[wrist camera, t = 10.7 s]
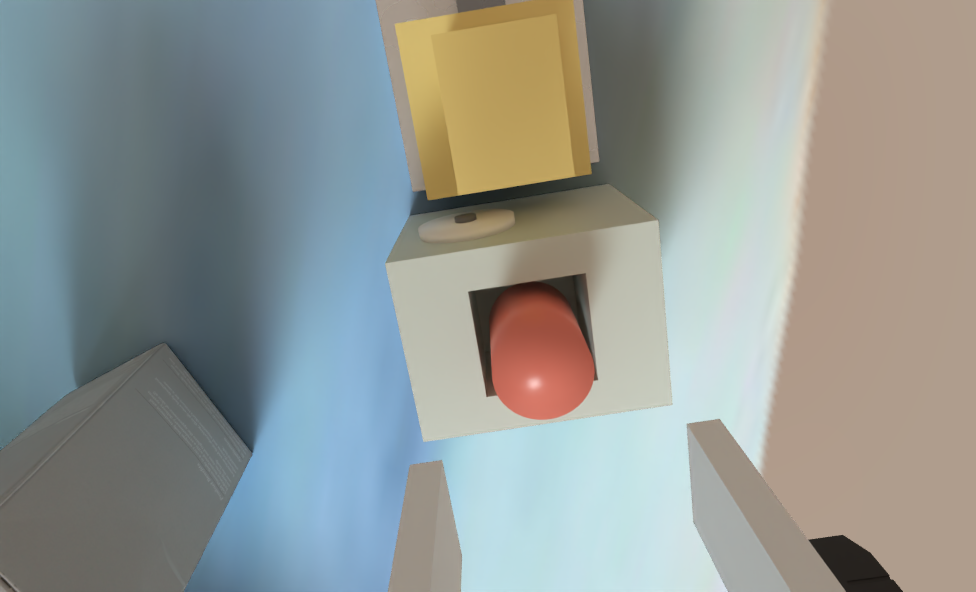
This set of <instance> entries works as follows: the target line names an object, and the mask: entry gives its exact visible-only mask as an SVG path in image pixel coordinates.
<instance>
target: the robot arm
mask: <svg viewBox="0 0 976 592" xmlns="http://www.w3.org/2000/svg"><path fill="white" fill-rule="evenodd" d="M687 436H688V450H689V465H690V479H691V494H692V508H693V522H694V524H695V527H696V529H697V531H698V533H699V535H700V537H701V539H702V541H703V543H704V545H705V547H706V549H707V551H708V553H709V555H710V557H711V559H712V561H713V563H714V565H715V567H716V569H717V571H718V573H719V575H720V577H721V579H722V581H723V583H724V585H725V587H726V589H727V591H728V592H903V591H902V590H901V589H900V587H899V586H898V585H897V584H896V583H895V581H894V580H891V579H890V577H889V574H888V573H887V572H886V571H885V570H884V568H883V567H882V566H881V565H880V564H879V562H878V561H877V560H876V559H875V558H874V557H873V555H872V554H871V553H870V552H868V551H867V550H865V549H863V548H862V547H861V546H859V545H858V544H856V543H854V542H853V541H851V540H850V539H848V538H847V537H845V536H843V535H839V536H832V537H825V538H818V539H811V540H808V539H807V538H806V536H805V535H804V534H803V532H802V531H801V530H800V528H799V527H798V526H797V524H796V523H795V521H794V520H793V519H792V517H791V516H790V514H789V513H788V512H787V510H786V509H785V508H784V506H783V505H782V503H781V502H780V501H779V499H778V498H777V497H776V495H775V494H774V493H773V491H772V490H771V488H770V487H769V486H768V484H767V483H766V482H765V480H764V479H763V477H762V476H761V475H760V473H759V472H758V471H757V469H756V468H755V467H754V465H753V464H752V462H751V461H750V460H749V458H748V457H747V456H746V454H745V453H744V452H743V450H742V449H741V447H740V446H739V445H738V443H737V442H736V441H735V439H734V438H733V436H732V435H731V434H730V432H729V431H728V430H727V428H726V427H725V426H724V424H723V423H722V421H721V420H720V419H716V420H709V421H703V422H696V423H689V424H687ZM461 570H462V554H461V549H460V544H459V539H458V534H457V530H456V525H455V520H454V515H453V510H452V506H451V501H450V496H449V491H448V486H447V482H446V477H445V472H444V467H443V462H442V460H440V461H433V462H426V463H419V464H413V465H410V467H409V473H408V479H407V484H406V490H405V496H404V502H403V507H402V513H401V519H400V525H399V530H398V536H397V542H396V548H395V553H394V559H393V565H392V571H391V576H390V582H389V588H388V592H461Z"/></svg>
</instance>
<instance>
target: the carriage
mask: <svg viewBox="0 0 976 592" xmlns="http://www.w3.org/2000/svg"><path fill="white" fill-rule="evenodd" d="M395 29H396V35H397V40H398V45H399V51H400V56H401V61H402V67H403V72H404V77H405V82H406V88H407V93H408V98H409V104H410V109H411V114H412V120H413V125H414V130H415V136H416V141H417V146H418V151H419V157H420V162H421V167H422V173H423V178H424V183H425V189H426V194H427V199H428V200H434V199H440V198H446V197H452V196H458V195H465V194H471V193H477V192H483V191H489V190H496V189H502V188H508V187H514V186H520V185H527V184H533V183H539V182H545V181H551V180H558V179H564V178H570V177H576V176H582V175H589V174H592V172H591V163H590V153H589V144H588V135H587V125H586V116H585V106H584V97H583V88H582V78H581V69H580V59H579V50H578V41H577V31H576V22H575V13H574V3H573V0H531V1H525V2H520V3H514V4H508V5H502V6H496V7H490V8H484V9H478V10H473V11H467V12H461V13H455V14H449V15H443V16H437V17H432V18H426V19H420V20H414V21H408V22H402V23H396V24H395Z"/></svg>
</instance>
